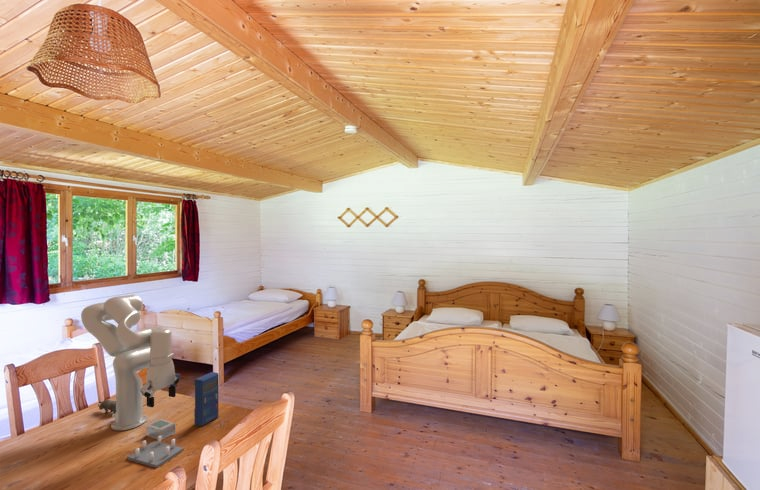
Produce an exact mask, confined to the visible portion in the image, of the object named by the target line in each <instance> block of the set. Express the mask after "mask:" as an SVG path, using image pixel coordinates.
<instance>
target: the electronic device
mask: <svg viewBox="0 0 760 490" xmlns="http://www.w3.org/2000/svg"><path fill="white" fill-rule="evenodd" d="M193 415H194V421H193V422H194V425H195V426H198V427H202V426H205V425H206V424H209V423H210V422H212V421H214V420H215V419H216V418H218V417H219V372H215V371H214V372H213V371H211V372H209V373H207V374H204V375H201V376H200V377H197V378H195V379H194V414H193Z"/></svg>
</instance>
